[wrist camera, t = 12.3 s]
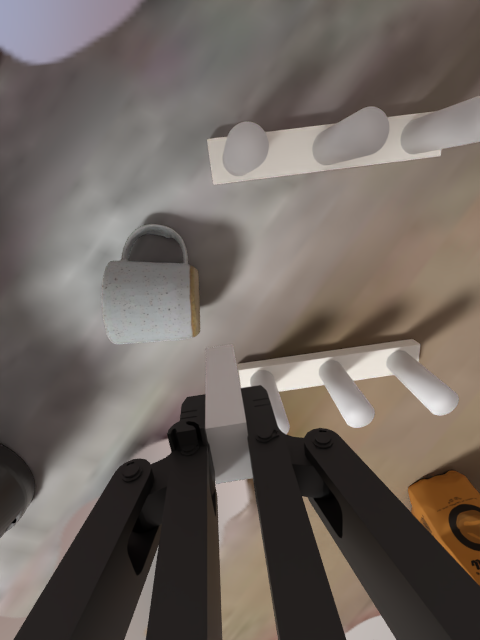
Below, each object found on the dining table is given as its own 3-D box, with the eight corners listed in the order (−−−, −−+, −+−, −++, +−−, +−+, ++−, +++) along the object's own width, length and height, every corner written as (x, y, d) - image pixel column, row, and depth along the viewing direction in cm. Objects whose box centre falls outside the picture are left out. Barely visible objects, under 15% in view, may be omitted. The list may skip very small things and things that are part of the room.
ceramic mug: (203, 323, 35) (200, 354, 28) (127, 325, 35) (104, 358, 27) (198, 222, 31) (193, 229, 24) (113, 223, 31) (82, 230, 24)
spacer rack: (241, 389, 39) (249, 447, 30) (207, 141, 29) (204, 119, 20) (410, 365, 39) (467, 414, 30) (434, 114, 29) (529, 79, 20)
